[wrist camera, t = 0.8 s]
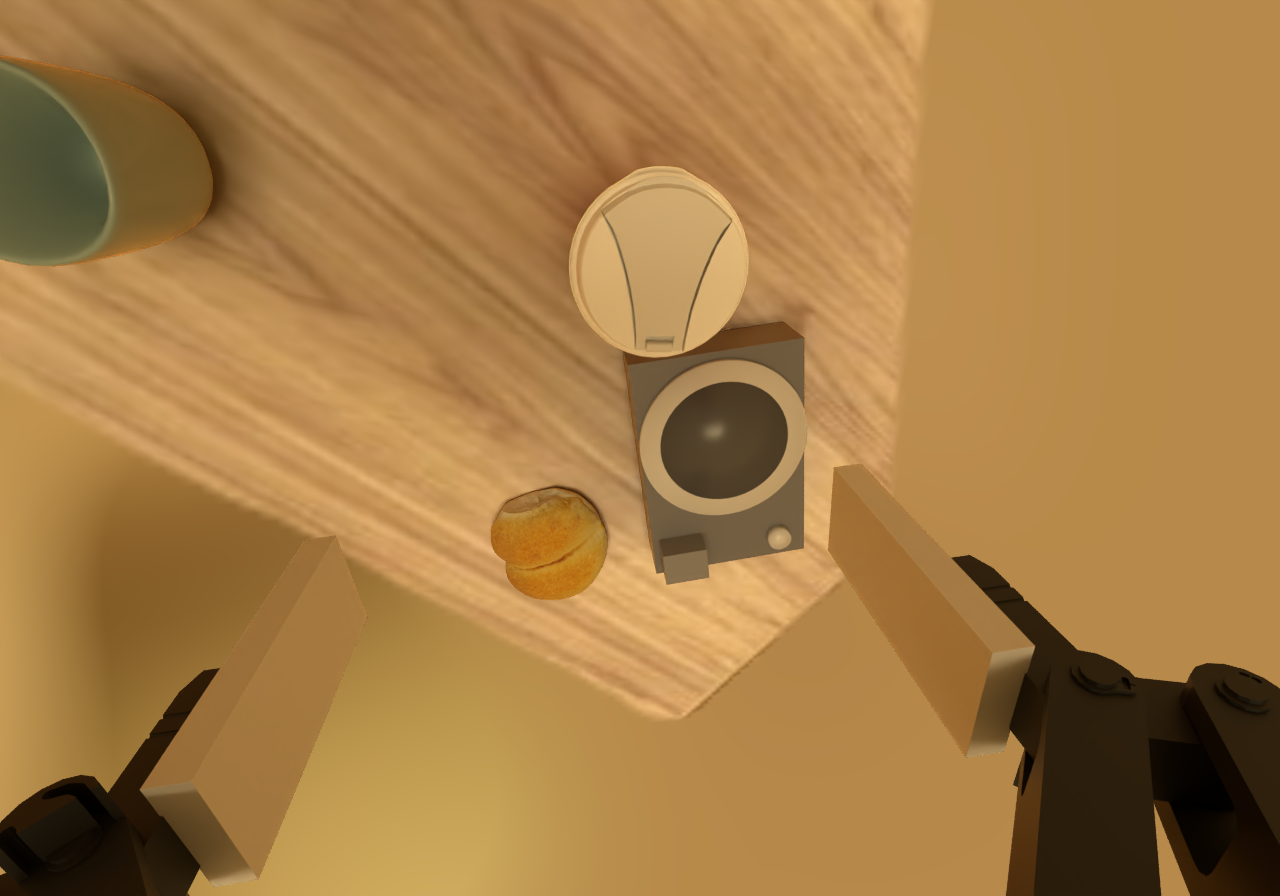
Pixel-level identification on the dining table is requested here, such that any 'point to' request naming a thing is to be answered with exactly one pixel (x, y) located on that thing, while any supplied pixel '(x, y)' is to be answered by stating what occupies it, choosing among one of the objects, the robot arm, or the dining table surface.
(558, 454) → the dining table surface
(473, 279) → the dining table surface
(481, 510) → the dining table surface
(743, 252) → the paper cup
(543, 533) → the bread roll
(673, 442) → the block
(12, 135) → the cup
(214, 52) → the dining table surface
